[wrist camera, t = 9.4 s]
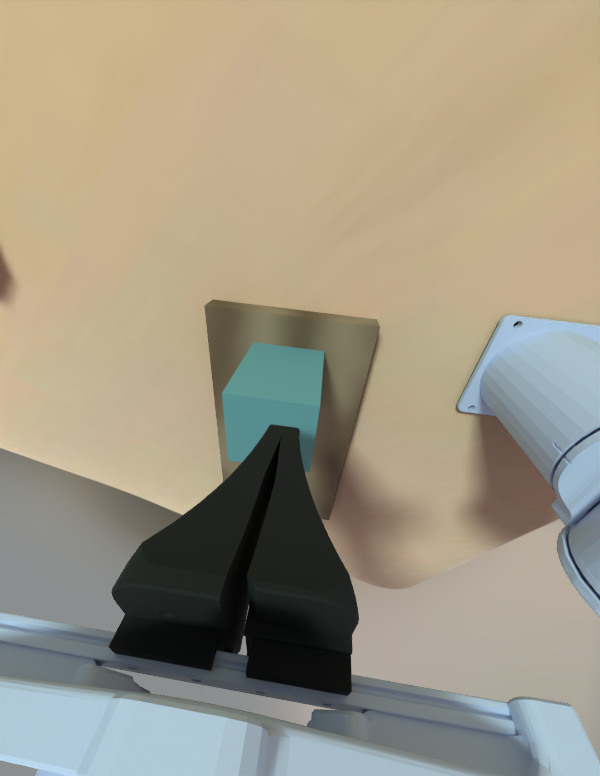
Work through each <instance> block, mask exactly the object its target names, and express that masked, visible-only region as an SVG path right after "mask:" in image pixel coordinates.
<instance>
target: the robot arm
mask: <svg viewBox="0 0 600 776" xmlns="http://www.w3.org/2000/svg"><path fill="white" fill-rule="evenodd" d="M517 321H519V324H518V325H516V326H513V325H514V324H515V322H517ZM472 405H473V406H472ZM469 406H472V407H470V408H468V407H469ZM457 407H458V409H459V410H460V411H462V412H468V413H476V414H483V415H491V416H496V417H497V418H498V419H499V421H500V422H501V423H502V424H503V426H504V427H505V428H506V429H507V431H508V432H509V433H510V435H511V436H512V437H513V438H514V440H515V441H516V442H517V444H518V445H519V446H520V447H521V449H522V450H523V451H524V453H525V454H526V455H527V456H528V458H529V459H530V460H531V462H532V463H533V464H534V465H535V467H536V468H537V469H538V470H539V472H540V473H541V474H542V476H543V477H544V478H545V479H546V481H547V482H548V483H549V485H550V486H551V487H552V488H553V490H554V491H555V493H556V499H555V501H554V502H553V504H552V505H551V507H552V508H553V509H554V511H555V512H556V513H557V515H558V516H559V517H560V519H561V520H562V522H563V523H564V524H565V525H566V526H565V527H564V528H563V529H562V531H561V532H560V533H559V536H558V540H557V551H558V554H559V558H560V561H561V564H562V566H563V568H564V570H565V572H566V574H567V575H568V577H569V579H570V581H571V583H572V584H573V585H574V587H575V588H576V590H577V591H578V592H579V594H580V595H581V596H582V598H583V599H584V600H585V601H586V602H587V603H588V605H589V606H590V607H591V608H592V609H593V611H595V613H596V614H597V615H599V617H600V325H592V324H584V323H575V322H567V321H559V320H550V319H542V318H533V317H525V316H517V315H507V316H505V317H503V318H502V319H501V320H500V322H499V324H498V326H497V328H496V330H495V332H494V334H493V336H492V338H491V339H490V341H489V343H488V345H487V347H486V349H485V351H484V353H483V355H482V357H481V359H480V361H479V363H478V365H477V367H476V369H475V371H474V373H473V375H472V377H471V378H470V380H469V382H468V384H467V386H466V388H465V390H464V392H463V394H462V396H461V398H460V400H459V402H458V404H457ZM299 435H300V430H299V428H296V427H288V426H281V425H273V424H271V425H270V426H269V427H268V428H267V430H266V432H265V433H264V435H263V436H262V438H261V439H260V440H259V442H258V443H257V445H256V446H255V447H254V448H253V450H252V451H251V452H250V453H249V455H248V456H247V457H246V458H245V459H244V461H243V462H242V463H241V464H240V465H239V466H238V467H237V468H236V469H235V471H234V472H233V473H232V474H231V475H230V476H229V477H228V478H227V479H226V480H225V481H224V482H223V483H222V484H221V485H219V486H218V487H217V488H216V489H215V490H214V491H213V492H212V493H210V494H209V495H208V496H207V497H206V498H205V499H203V500H202V501H201V502H200V503H199V504H197V505H196V506H195V507H193V508H192V509H191V510H189V511H188V512H187V513H185V514H184V515H183V516H181V517H180V518H179V519H177V520H176V521H174V522H173V523H172V524H170V525H169V526H167V527H166V528H164V529H162V530H161V531H159V532H158V533H156V534H155V535H153V536H152V537H150V538H149V539H147V540H146V541H144V542H142V544H141V545H140V546H139V548H138V549H137V550H136V552H135V553H134V555H133V556H132V557H131V559H130V560H129V562H128V563H127V565H126V566H125V568H124V570H123V572H122V573H121V575H120V577H119V578H118V580H117V582H116V583H115V585H114V587H113V589H112V596H113V598H114V600H115V601H116V603H117V604H118V605H119V607H120V608H121V609H122V611H123V612H124V613H125V616H124V618H123V620H122V622H121V624H120V626H119V627H118V629H117V631H116V632H111V631H105V630H99V629H94V628H88V627H83V626H77V625H71V624H66V623H60V622H55V621H49V620H43V619H38V618H32V617H26V616H21V615H16V614H10V613H4V612H0V760H1V761H6V762H11V763H15V764H19V765H23V766H28V767H33V768H37V769H38V771H37V773H36V775H35V776H600V761H599V759H598V757H597V755H596V753H595V751H594V749H593V747H592V745H591V743H590V741H589V738H588V737H587V734H586V732H585V730H584V728H583V726H582V724H581V722H580V720H579V717H578V715H577V713H576V711H575V709H574V708H573V707H572V706H571V705H570V704H568V703H562V702H556V701H550V700H545V699H539V698H533V697H516V698H513V699H511V700H509V701H508V702H502V701H496V700H491V699H485V698H480V697H474V696H469V695H463V694H457V693H452V692H446V691H441V690H435V689H430V688H424V687H418V686H413V685H407V684H401V683H396V682H390V681H385V680H379V679H374V678H368V677H362V676H357V675H351V654H352V634H353V632H354V630H355V628H356V626H357V624H358V620H359V615H358V607H357V602H356V597H355V594H354V590H353V586H352V583H351V580H350V576H349V573H348V571H347V570H346V568H345V566H344V564H343V563H342V561H341V559H340V557H339V555H338V554H337V552H336V550H335V548H334V546H333V544H332V542H331V540H330V538H329V536H328V534H327V531H326V529H325V527H324V525H323V523H322V520H321V518H320V516H319V513H318V511H317V508H316V506H315V503H314V500H313V498H312V495H311V492H310V489H309V485H308V482H307V478H306V475H305V471H304V467H303V462H302V457H301V451H300V440H299ZM248 606H249V610H248ZM247 611H248V615H247ZM246 616H247V619H246ZM245 622H246V624H245ZM244 627H245V628H244ZM243 633H244V634H243ZM243 635H244V636H246V645H247V656H244V655H239V654H237V653H238V652H239V651H240V649H241V644H242V638H243ZM102 666H104V667H110V668H115V669H120V670H126V671H132V672H137V673H142V674H148V675H153V676H158V677H163V678H169V679H175V680H180V681H185V682H190V683H196V684H202V685H206V686H212V687H217V688H223V689H229V690H234V691H240V692H244V693H249V694H255V695H260V696H266V697H272V698H276V699H282V700H287V701H293V702H298V703H303V704H309V705H314V706H320V707H325V708H330V709H336V710H319V709H318V710H317V709H315V710H314V711H313V712H312V719H311V721H309V723H308V724H307V726H303V725H299V724H295V723H291V722H287V721H283V720H279V719H275V718H271V717H267V716H263V715H259V714H255V713H250V712H246V711H242V710H237V709H233V708H228V707H224V706H219V705H214V704H209V703H203V702H198V701H193V700H187V699H181V698H175V697H170V696H164V695H157V694H150V692H149V691H148V690H146V689H144V688H142V687H140V686H139V685H138V684H137V683H135V682H134V681H133V677H132V676H129V675H126V674H123V673H119V672H116V671H113V670H110V669H107V668H103V667H102Z"/></svg>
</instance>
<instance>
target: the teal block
mask: <svg viewBox="0 0 600 776" xmlns="http://www.w3.org/2000/svg"><path fill="white" fill-rule="evenodd" d="M323 363H324V351H319V350H311V349H303V348H295V347H287V346H279V345H271V344H263V343H255V342H253V344H252V345H251V347H250V349H249V350H248V352H247V353H246V355H245V357H244V358H243V360H242V361H241V363H240V365H239V366H238V368H237V370H236V371H235V373H234V374H233V376H232V378H231V379H230V381H229V382H228V384H227V386H226V387H225V389H224V391H223V392H222V400H223V411H224V422H225V433H226V443H227V454H228V461H235V462H243V461H244V459H245V458H246V457H247V456H248V455H249V453H250V452H251V451H252V450H253V448H254V447H255V446H256V445H257V443H258V442H259V440H260V439H261V438H262V436H263V435H264V433H265V432H266V430H267V428H268V427H269V426H270V425H271V424H273V425H281V426H288V427H296V428H299V430H300V435H299V440H300V451H301V457H302V462H303V467H304V471H305V472H310V467H311V461H312V455H313V448H314V442H315V436H316V429H317V423H318V417H319V410H320V402H321V389H322V376H323Z"/></svg>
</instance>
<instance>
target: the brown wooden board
mask: <svg viewBox="0 0 600 776" xmlns="http://www.w3.org/2000/svg"><path fill="white" fill-rule="evenodd" d="M205 314H206V323H207V333H208V342H209V351H210V361H211V370H212V380H213V389H214V398H215V408H216V417H217V426H218V436H219V445H220V455H221V464H222V473H223V482H224V481H225V480H226V479H227V478H228V477H229V476H230V475H231V474H232V473H233V472H234V471H235V469H236V468H237V467H238V466H239V465H240V464H241V463H242V462H235V461H228V454H227V443H226V433H225V422H224V411H223V400H222V392H223V391H224V389H225V387H226V386H227V384H228V382H229V381H230V379H231V378H232V376H233V374H234V373H235V371H236V370H237V368H238V366H239V365H240V363H241V361H242V360H243V358H244V357H245V355H246V353H247V352H248V350H249V349H250V347H251V345H252V344H253V342H255V343H263V344H271V345H279V346H287V347H295V348H303V349H311V350H319V351H324V363H323V376H322V389H321V402H320V410H319V417H318V423H317V429H316V436H315V442H314V448H313V455H312V461H311V467H310V472H305V475H306V478H307V482H308V485H309V489H310V492H311V495H312V498H313V500H314V503H315V506H316V508H317V511H318V513H319V516H320V518H321V519H326V520H329V518H330V515H331V511H332V507H333V503H334V499H335V496H336V492H337V488H338V484H339V480H340V477H341V473H342V469H343V465H344V461H345V458H346V454H347V450H348V446H349V442H350V439H351V435H352V431H353V427H354V423H355V420H356V416H357V412H358V408H359V404H360V401H361V397H362V393H363V389H364V385H365V381H366V378H367V374H368V370H369V366H370V362H371V359H372V355H373V351H374V347H375V343H376V340H377V336H378V332H379V328H380V327H379V324H378V321H377V320H375V319H366V318H358V317H350V316H342V315H334V314H325V313H317V312H309V311H301V310H293V309H285V308H276V307H268V306H260V305H252V304H244V303H235V302H227V301H219V300H212V301H210V302H209V303H208V304H206V305H205Z"/></svg>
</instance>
